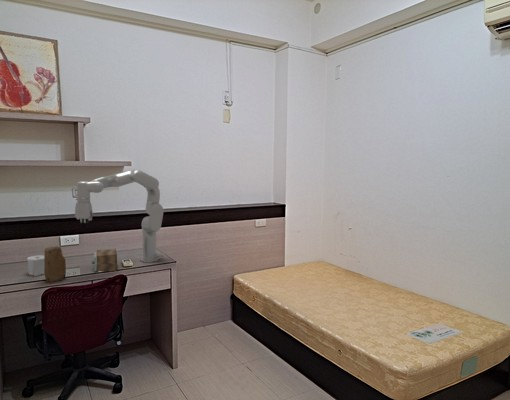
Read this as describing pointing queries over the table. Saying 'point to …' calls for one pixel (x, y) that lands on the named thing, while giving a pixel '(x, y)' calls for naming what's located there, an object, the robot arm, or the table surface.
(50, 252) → the block
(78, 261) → the table surface
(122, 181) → the robot arm
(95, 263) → the green rectangular block
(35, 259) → the toilet tissue
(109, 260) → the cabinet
